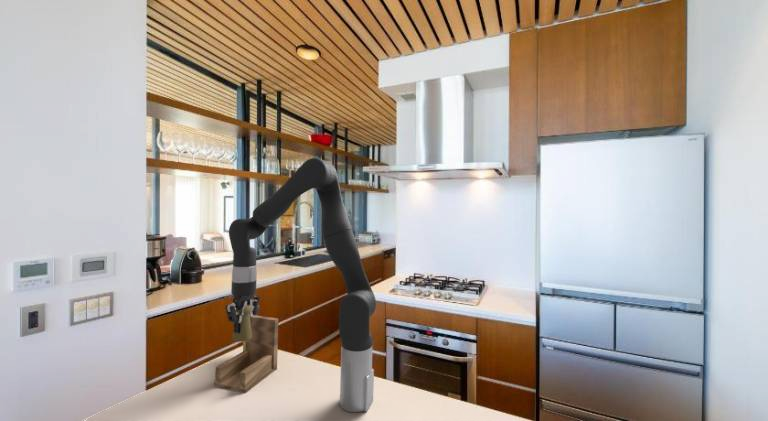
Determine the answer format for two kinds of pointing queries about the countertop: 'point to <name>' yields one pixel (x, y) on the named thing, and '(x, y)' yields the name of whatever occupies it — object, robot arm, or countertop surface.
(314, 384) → the countertop surface
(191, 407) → the countertop surface
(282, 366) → the countertop surface
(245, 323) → the olive rounded bulb piece
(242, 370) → the wooden stand
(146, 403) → the countertop surface
